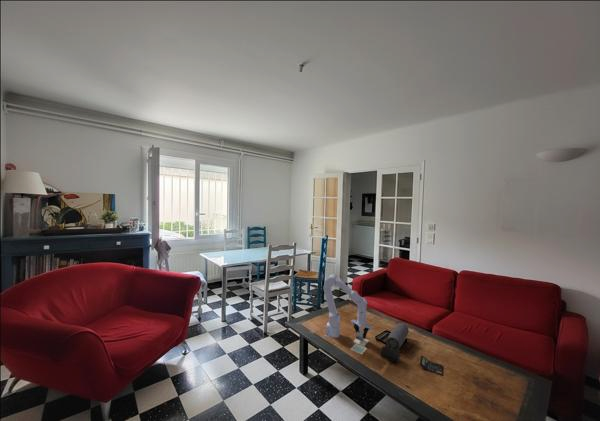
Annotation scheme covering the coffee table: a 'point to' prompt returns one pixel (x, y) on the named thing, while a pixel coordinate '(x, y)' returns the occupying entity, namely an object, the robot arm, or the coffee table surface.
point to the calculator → (431, 366)
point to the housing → (360, 334)
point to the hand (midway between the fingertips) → (361, 336)
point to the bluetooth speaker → (397, 336)
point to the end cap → (390, 354)
